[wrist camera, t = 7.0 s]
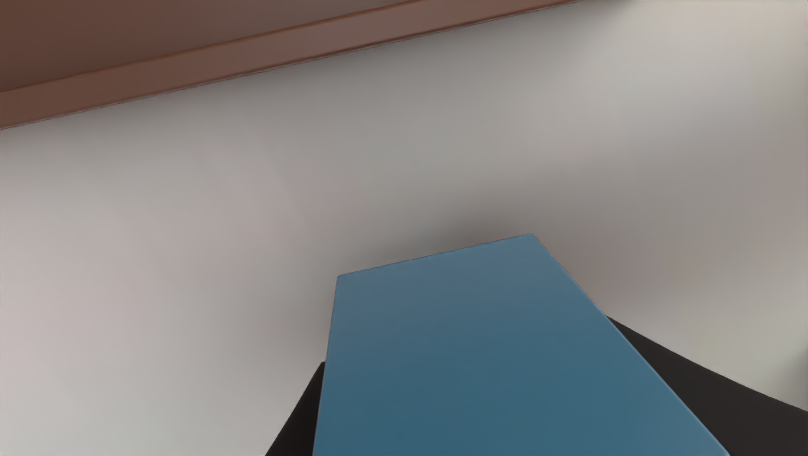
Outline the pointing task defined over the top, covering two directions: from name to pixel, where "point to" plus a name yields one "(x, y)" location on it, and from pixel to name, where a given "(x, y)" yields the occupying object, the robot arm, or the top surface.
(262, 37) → the tray
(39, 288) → the top surface
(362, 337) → the block
